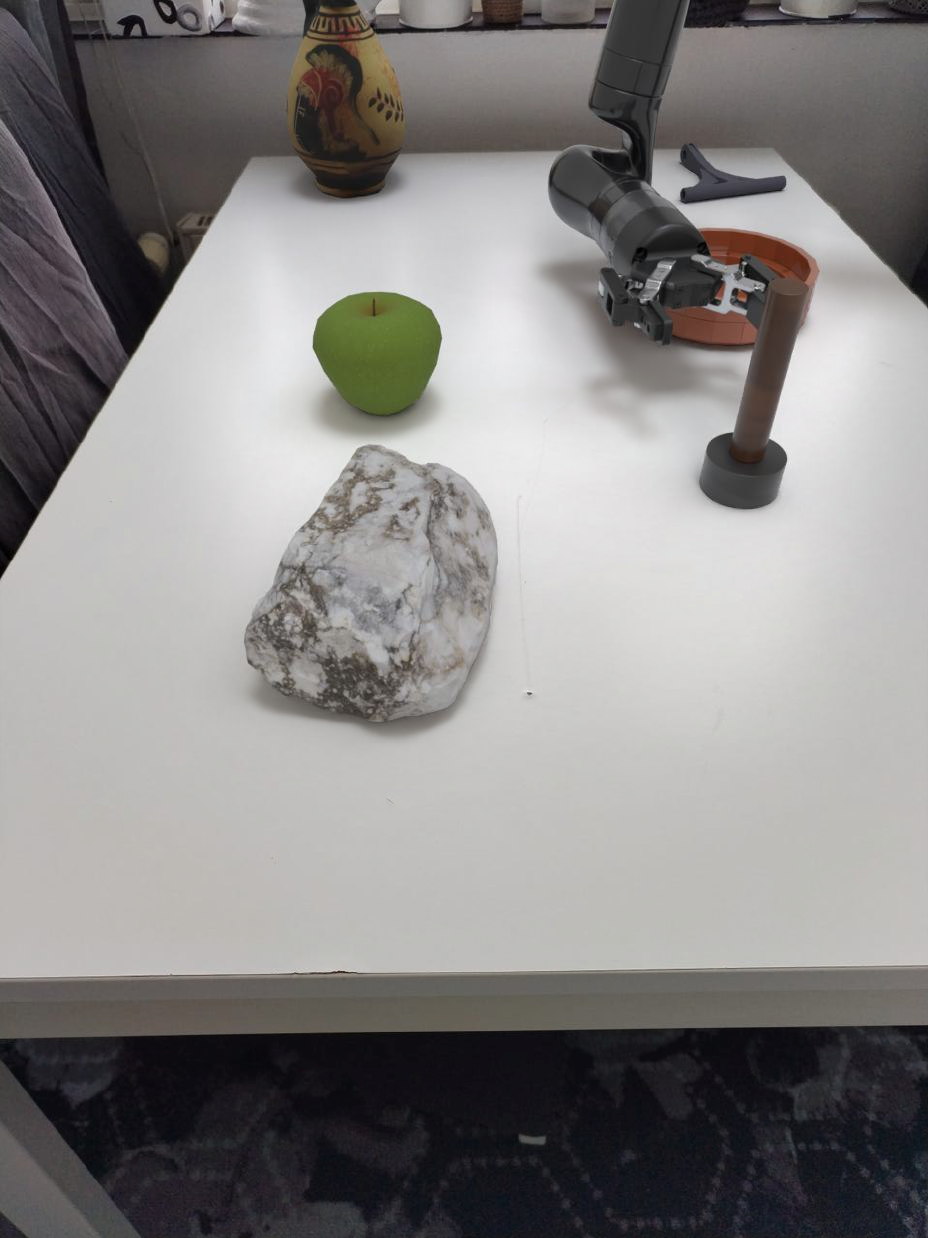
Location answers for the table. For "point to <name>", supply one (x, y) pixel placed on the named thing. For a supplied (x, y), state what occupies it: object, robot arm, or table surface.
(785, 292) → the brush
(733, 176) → the bracket
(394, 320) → the apple
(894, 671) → the table surface
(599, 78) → the robot arm
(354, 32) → the ceramic jug
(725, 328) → the bowl
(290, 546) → the decorative stone
